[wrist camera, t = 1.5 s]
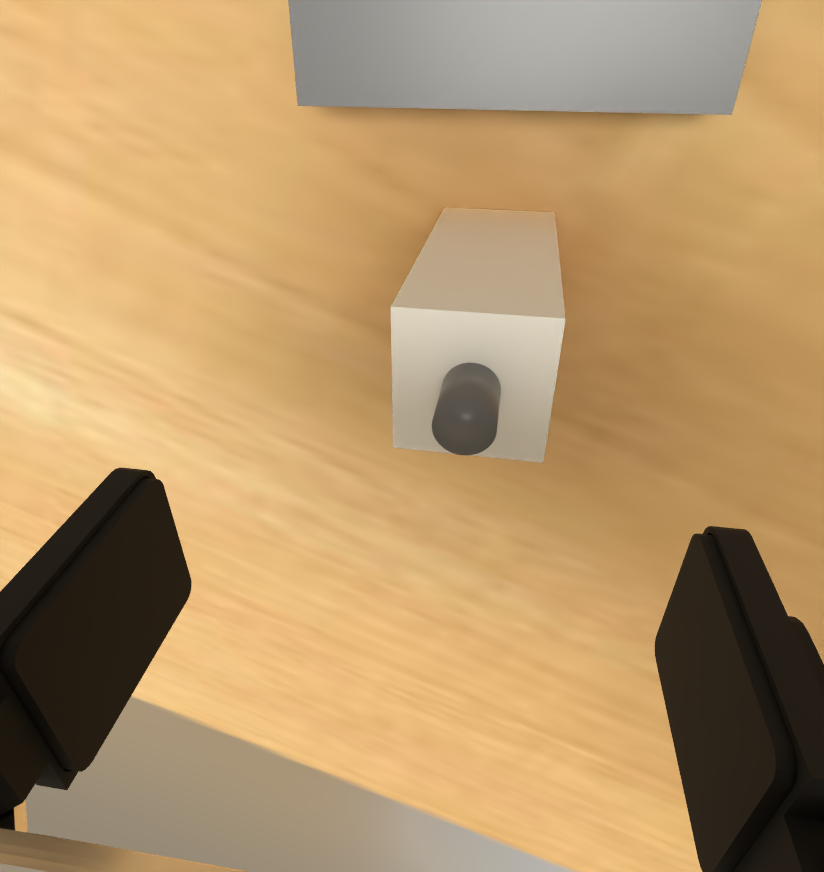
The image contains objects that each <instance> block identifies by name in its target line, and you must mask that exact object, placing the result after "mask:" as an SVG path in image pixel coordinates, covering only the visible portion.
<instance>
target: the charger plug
mask: <svg viewBox="0 0 824 872" xmlns="http://www.w3.org/2000/svg"><path fill="white" fill-rule="evenodd" d="M565 319H566V318H565V308H564V298H563V288H562V279H561V269H560V259H559V250H558V240H557V230H556V220H555V212H539V211H516V210H494V209H471V208H449V207H445V208H444V209H443V211H442V213H441V215H440V217H439V219H438V220H437V222H436V224H435V226H434V228H433V230H432V231H431V233H430V235H429V237H428V239H427V241H426V243H425V244H424V246H423V248H422V250H421V252H420V254H419V255H418V257H417V259H416V261H415V263H414V265H413V267H412V268H411V270H410V272H409V274H408V276H407V278H406V279H405V281H404V283H403V285H402V287H401V289H400V290H399V292H398V294H397V296H396V298H395V300H394V302H393V303H392V305H391V356H392V415H393V448H402V449H412V450H422V451H431V452H441V453H451V454H458V455H471V456H481V457H490V458H500V459H510V460H520V461H530V462H539V463H543V462H544V456H545V449H546V443H547V436H548V430H549V423H550V417H551V410H552V404H553V397H554V391H555V384H556V378H557V371H558V365H559V358H560V352H561V345H562V339H563V332H564V326H565Z"/></svg>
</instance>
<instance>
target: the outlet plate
mask: <svg viewBox="0 0 824 872" xmlns="http://www.w3.org/2000/svg"><path fill="white" fill-rule="evenodd" d="M288 1H289V12H290V24H291V35H292V46H293V57H294V68H295V80H296V91H297V102H298V106H332V107H380V108H428V109H475V110H523V111H571V112H618V113H666V114H714V115H732V112H733V108H734V105H735V101H736V97H737V93H738V89H739V86H740V82H741V78H742V74H743V70H744V67H745V63H746V59H747V55H748V52H749V48H750V44H751V40H752V36H753V33H754V29H755V25H756V21H757V17H758V14H759V10H760V6H761V2H762V0H288Z"/></svg>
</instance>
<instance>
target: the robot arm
mask: <svg viewBox="0 0 824 872" xmlns="http://www.w3.org/2000/svg"><path fill="white" fill-rule="evenodd" d="M190 591H191V578H190V574H189V571H188V567H187V564H186V560H185V557H184V554H183V550H182V547H181V543H180V540H179V537H178V533H177V530H176V526H175V523H174V519H173V516H172V513H171V509H170V506H169V502H168V499H167V496H166V492H165V489H164V485H163V483H162V482H161V481H160V480H158V479H156V478H155V476H154V474H153V473H152V472H151V471H148V470H139V469H129V468H117V469H115V470H114V471H112V472H111V473H110V474H109V475H108V476H107V478H106V479H105V480H104V481H103V482H102V483H101V484H100V485H99V486H98V487H97V488H96V489H95V490H94V492H93V493H92V494H91V495H90V496H89V497H88V498H87V499H86V500H85V501H84V502H83V503H82V504H81V506H80V507H79V508H78V509H77V510H76V511H75V512H74V513H73V514H72V515H71V516H70V517H69V518H68V520H67V521H66V522H65V523H64V524H63V525H62V526H61V527H60V528H59V529H58V530H57V531H56V532H55V534H54V535H53V536H52V537H51V538H50V539H49V540H48V541H47V542H46V543H45V544H44V545H43V546H42V548H41V549H40V550H39V551H38V552H37V553H36V554H35V555H34V556H33V557H32V558H31V559H30V560H29V561H28V563H27V564H26V565H25V566H24V567H23V568H22V569H21V570H20V571H19V572H18V573H17V574H16V575H15V577H14V578H13V579H12V580H11V581H10V582H9V583H8V584H7V585H6V586H5V587H4V588H3V589H2V591H1V592H0V872H248V871H243V870H237V869H232V868H226V867H221V866H215V865H210V864H204V863H199V862H193V861H187V860H182V859H176V858H171V857H165V856H159V855H154V854H148V853H143V852H137V851H131V850H126V849H120V848H114V847H108V846H103V845H98V844H92V843H86V842H81V841H75V840H69V839H63V838H57V837H52V836H46V835H39V834H33V833H28V831H27V817H26V804H25V799H26V797H27V796H28V794H29V793H30V791H31V789H32V788H33V786H34V785H35V783H36V785H40V786H47V787H52V788H58V789H64V790H67V789H68V788H69V786H70V784H71V783H72V781H73V779H74V778H75V776H76V774H77V773H78V771H83V770H85V769H86V768H87V767H88V766H89V765H90V764H91V763H92V761H93V760H94V758H95V756H96V754H97V753H98V751H99V749H100V748H101V746H102V744H103V743H104V741H105V739H106V737H107V736H108V734H109V732H110V731H111V729H112V727H113V725H114V724H115V722H116V720H117V719H118V717H119V715H120V714H121V712H122V710H123V708H124V707H125V705H126V703H127V702H128V700H129V698H130V697H131V695H132V693H133V692H134V690H135V688H136V686H137V685H138V683H139V681H140V680H141V678H142V676H143V675H144V673H145V671H146V669H147V668H148V666H149V664H150V663H151V661H152V659H153V658H154V656H155V654H156V652H157V651H158V649H159V647H160V646H161V644H162V642H163V640H164V639H165V637H166V635H167V634H168V632H169V630H170V629H171V627H172V625H173V623H174V622H175V620H176V618H177V617H178V615H179V613H180V612H181V610H182V608H183V606H184V605H185V603H186V601H187V599H188V597H189V595H190ZM655 657H656V662H657V667H658V672H659V677H660V681H661V686H662V691H663V695H664V700H665V705H666V709H667V714H668V719H669V723H670V728H671V733H672V737H673V742H674V747H675V752H676V756H677V761H678V766H679V770H680V775H681V780H682V784H683V789H684V794H685V798H686V803H687V808H688V812H689V817H690V822H691V827H692V831H693V836H694V841H695V845H696V850H697V855H698V859H699V863H700V867H701V869H702V871H703V872H824V664H823V662H822V660H821V658H820V656H819V654H818V651H817V649H816V647H815V645H814V643H813V641H812V639H811V637H810V635H809V633H808V631H807V629H806V628H805V626H804V625H803V623H802V622H801V621H800V620H798V619H797V618H795V617H790V616H788V615H787V613H786V611H785V609H784V606H783V604H782V602H781V600H780V598H779V595H778V593H777V591H776V589H775V587H774V584H773V582H772V580H771V578H770V576H769V573H768V571H767V569H766V567H765V565H764V562H763V560H762V558H761V556H760V554H759V551H758V549H757V547H756V545H755V543H754V540H753V538H752V536H751V535H750V533H749V532H748V531H747V530H744V529H734V528H724V527H714V526H709V527H707V528H706V529H705V531H704V533H703V534H694V535H693V536H692V538H691V541H690V544H689V546H688V549H687V552H686V555H685V558H684V560H683V563H682V566H681V569H680V572H679V574H678V577H677V580H676V583H675V586H674V588H673V591H672V594H671V597H670V599H669V602H668V605H667V608H666V611H665V613H664V616H663V619H662V622H661V625H660V627H659V630H658V633H657V636H656V641H655Z"/></svg>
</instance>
